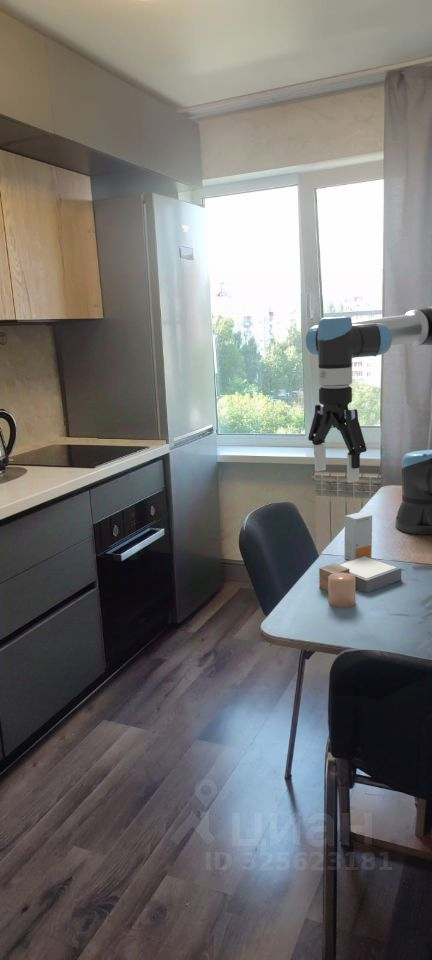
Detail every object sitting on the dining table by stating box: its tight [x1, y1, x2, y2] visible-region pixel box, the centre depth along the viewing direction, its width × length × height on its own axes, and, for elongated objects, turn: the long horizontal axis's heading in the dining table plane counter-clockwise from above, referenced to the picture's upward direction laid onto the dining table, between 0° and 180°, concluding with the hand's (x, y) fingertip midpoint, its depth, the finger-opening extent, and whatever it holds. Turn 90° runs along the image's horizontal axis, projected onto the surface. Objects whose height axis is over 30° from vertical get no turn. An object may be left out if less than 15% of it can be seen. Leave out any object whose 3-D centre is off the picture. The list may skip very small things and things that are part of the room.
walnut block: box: [318, 563, 349, 592], centre depth 160 cm, size 5×5×5 cm
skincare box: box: [344, 511, 373, 561], centre depth 177 cm, size 6×4×12 cm
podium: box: [337, 555, 402, 594], centre depth 164 cm, size 12×12×3 cm
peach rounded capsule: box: [327, 573, 356, 609], centre depth 152 cm, size 6×6×6 cm
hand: (336, 476), depth 159 cm, fingers open, 13 cm apart
